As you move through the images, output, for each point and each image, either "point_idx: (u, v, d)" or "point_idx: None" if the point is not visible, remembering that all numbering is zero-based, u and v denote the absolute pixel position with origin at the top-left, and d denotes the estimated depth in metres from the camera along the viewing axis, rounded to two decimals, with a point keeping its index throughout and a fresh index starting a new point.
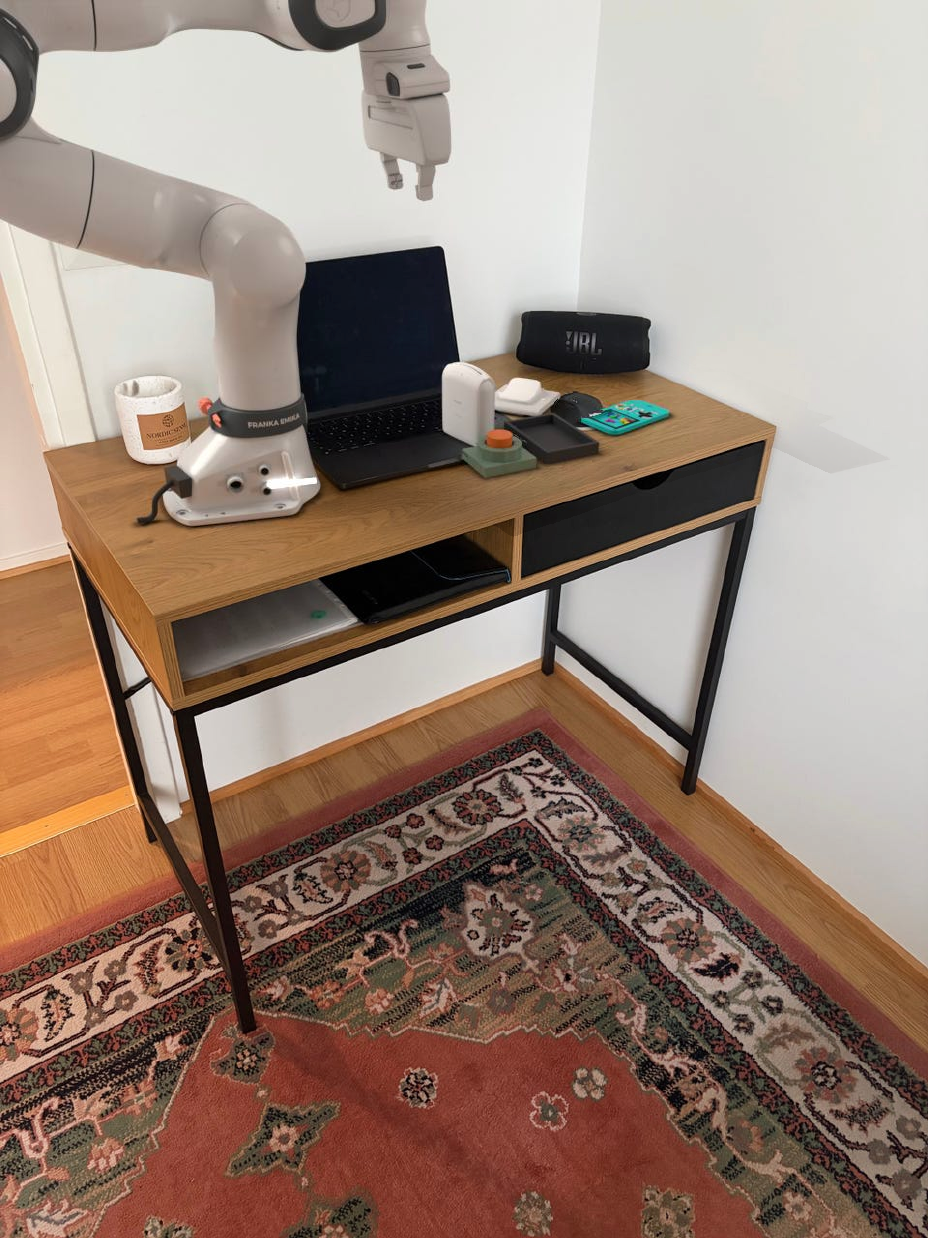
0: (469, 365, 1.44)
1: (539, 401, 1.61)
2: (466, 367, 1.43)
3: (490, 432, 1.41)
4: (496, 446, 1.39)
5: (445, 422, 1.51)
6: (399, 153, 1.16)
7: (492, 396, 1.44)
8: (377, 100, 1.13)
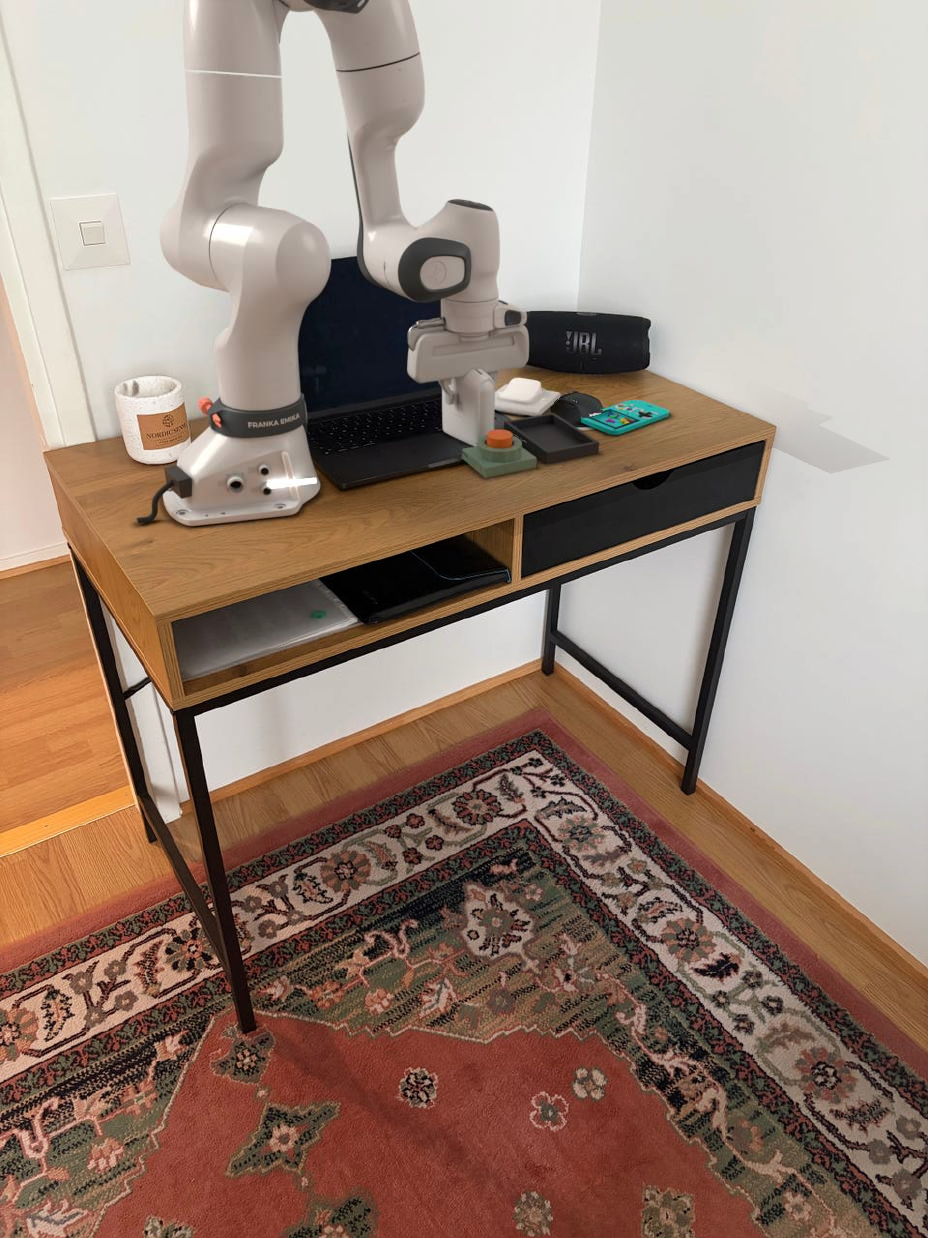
0: None
1: (539, 401, 1.61)
2: None
3: (490, 432, 1.41)
4: (496, 446, 1.39)
5: (445, 422, 1.51)
6: (486, 369, 1.44)
7: (492, 396, 1.44)
8: (478, 335, 1.39)
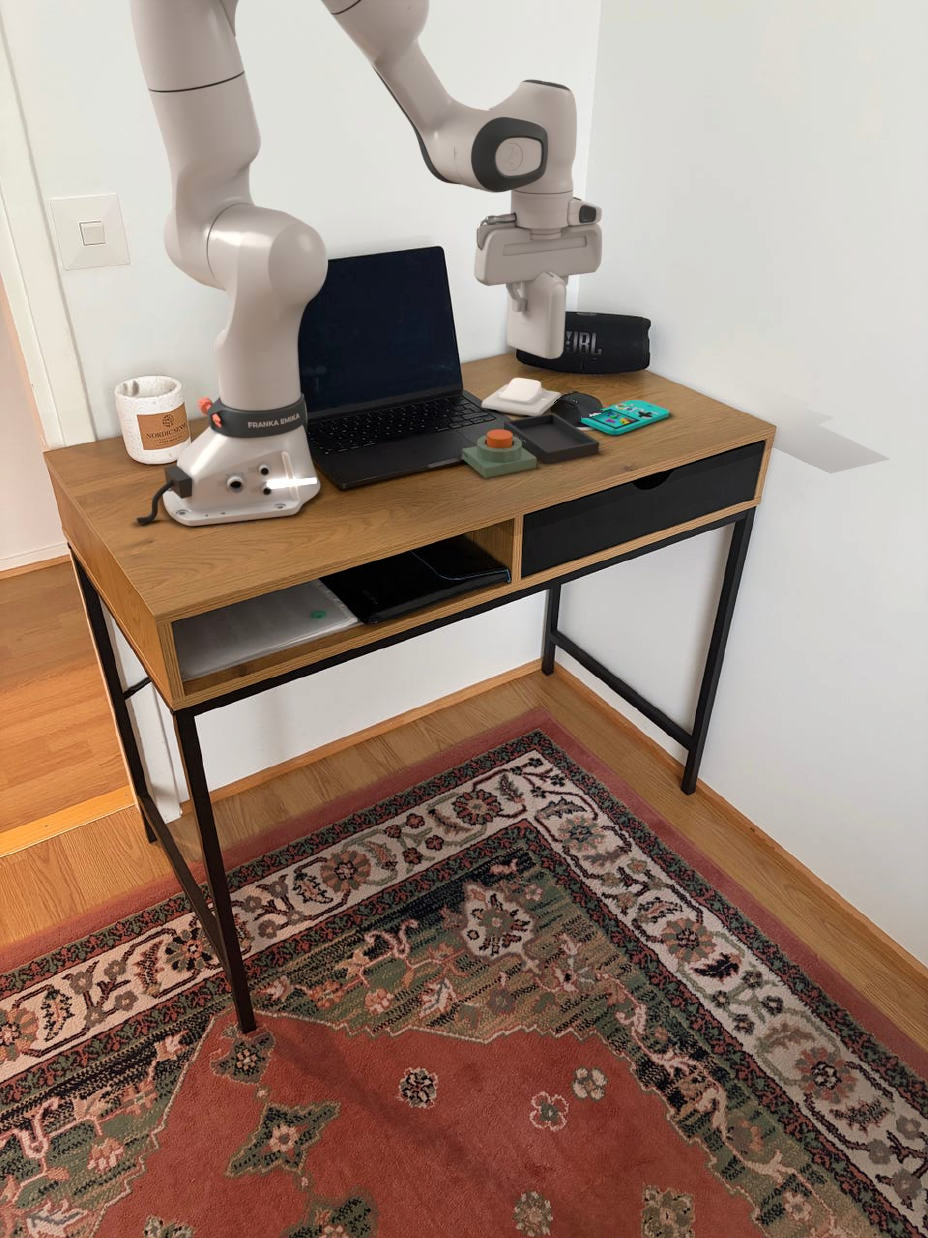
0: None
1: (540, 401, 1.61)
2: None
3: (490, 432, 1.41)
4: (496, 446, 1.39)
5: (510, 334, 1.42)
6: (557, 272, 1.34)
7: (563, 301, 1.35)
8: (551, 233, 1.29)
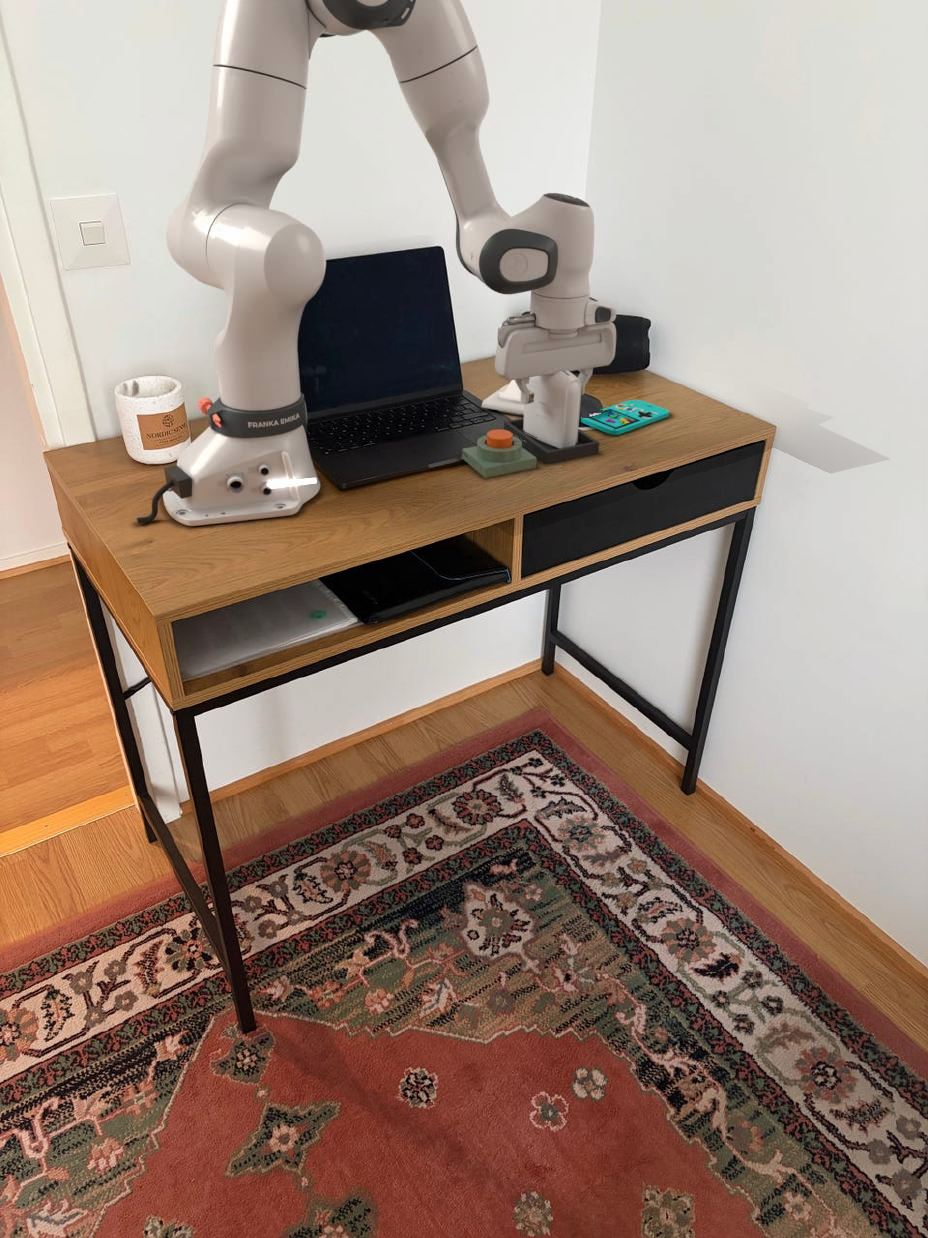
0: None
1: None
2: None
3: (490, 432, 1.41)
4: (496, 446, 1.39)
5: (527, 423, 1.49)
6: (573, 366, 1.42)
7: (578, 397, 1.42)
8: (568, 332, 1.37)
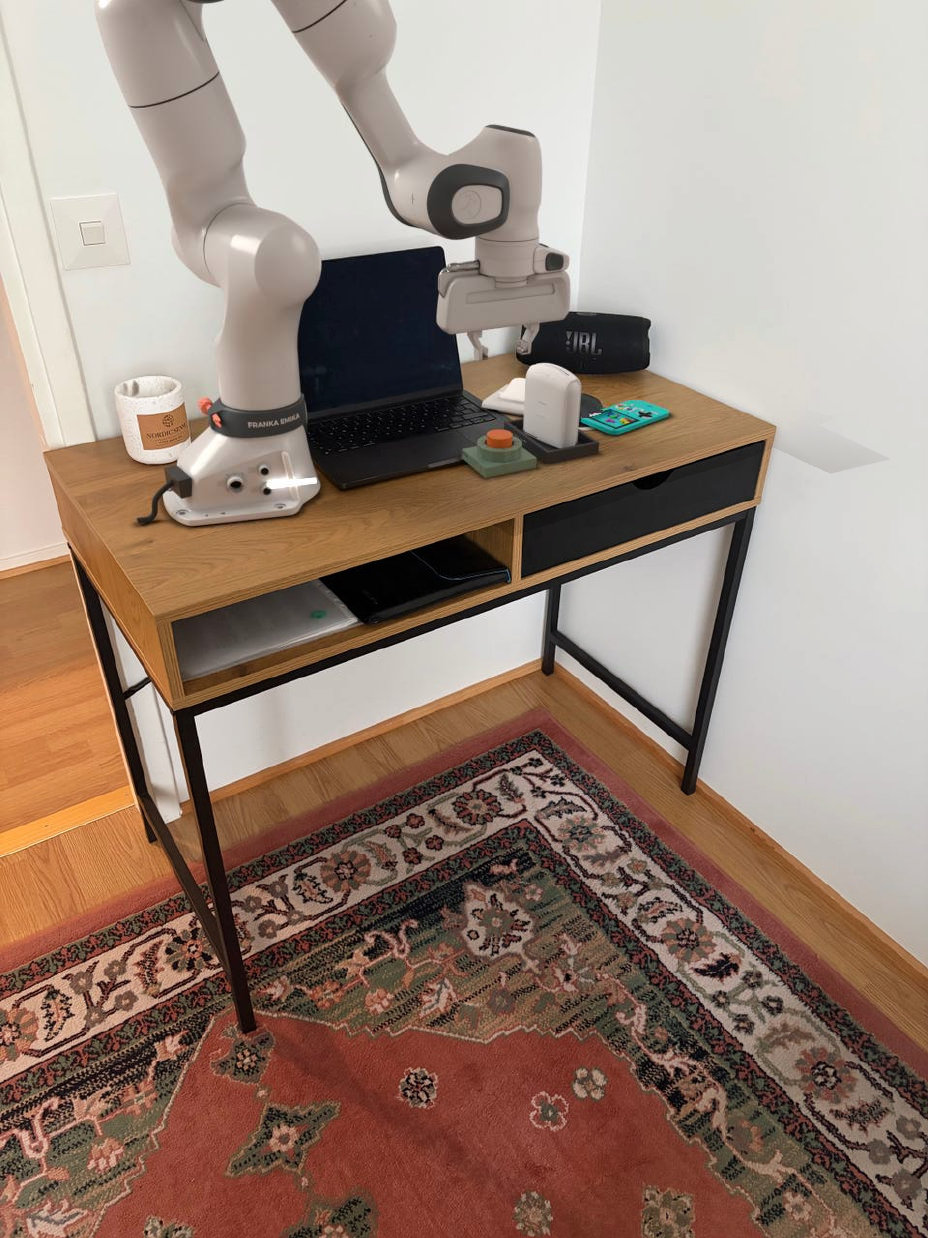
0: (555, 366, 1.43)
1: None
2: (552, 368, 1.42)
3: (490, 432, 1.41)
4: (496, 446, 1.39)
5: (527, 423, 1.49)
6: (523, 320, 1.30)
7: (578, 397, 1.42)
8: (516, 281, 1.25)
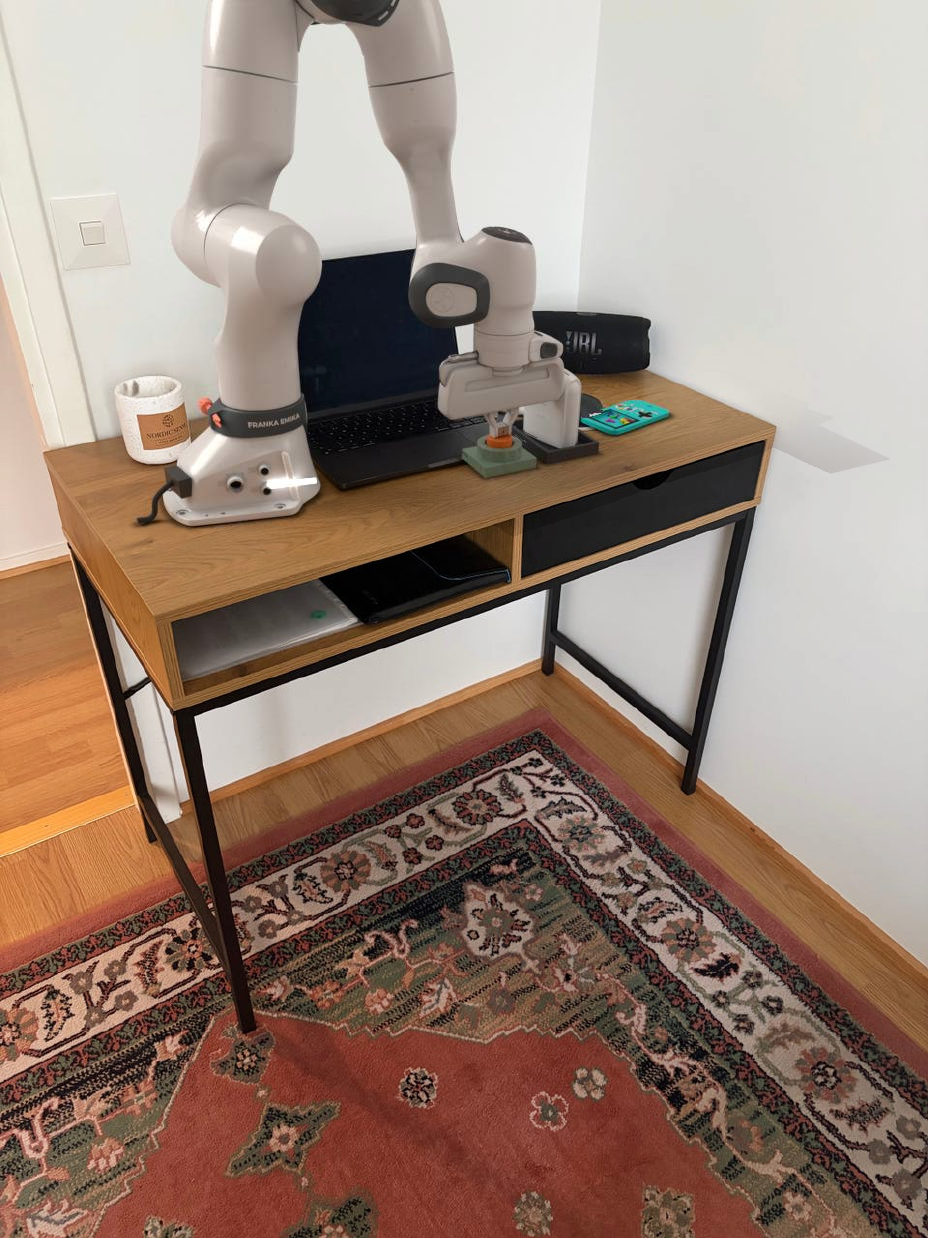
0: None
1: None
2: None
3: None
4: None
5: (527, 423, 1.49)
6: (520, 403, 1.37)
7: (578, 397, 1.42)
8: (513, 369, 1.32)
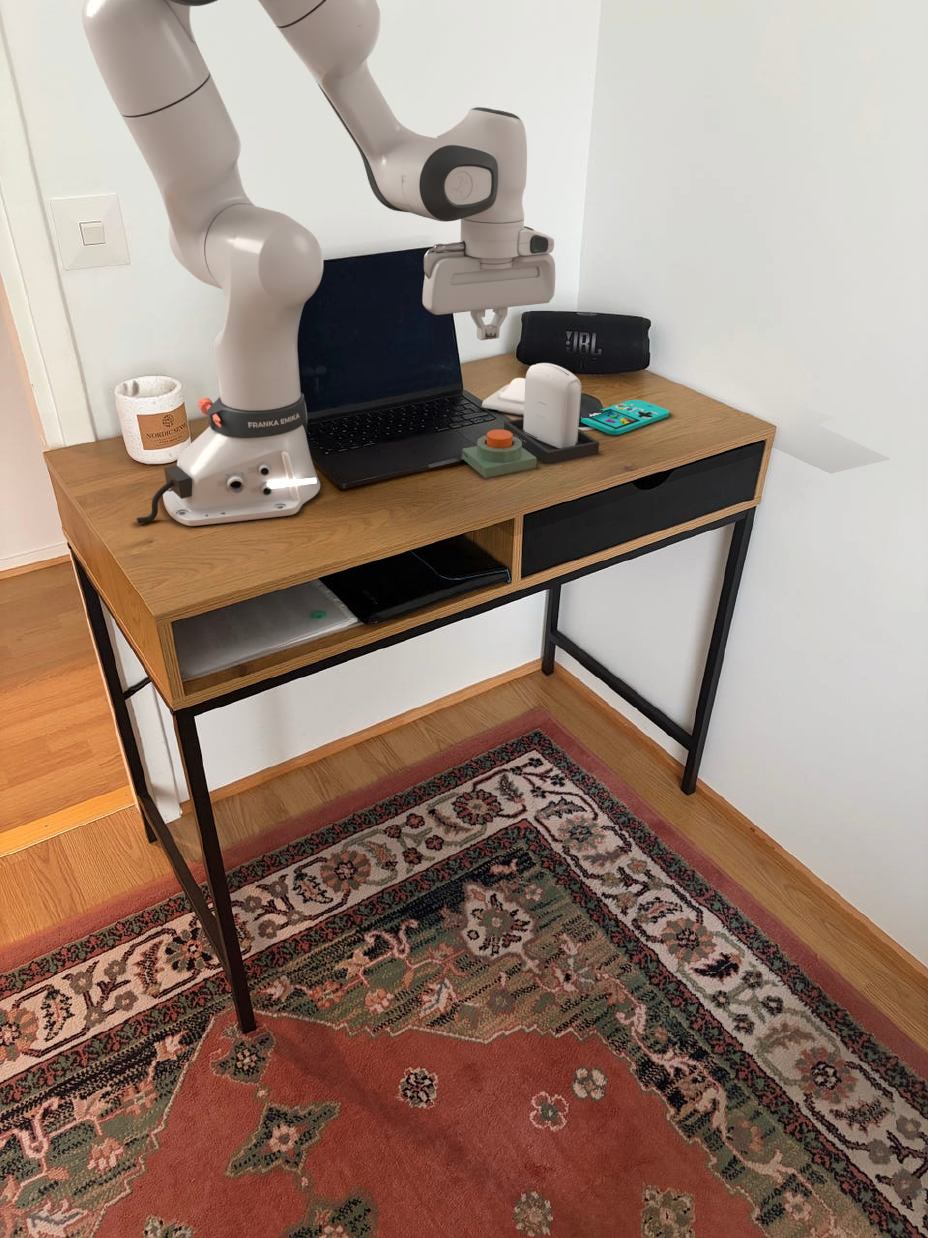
0: (555, 366, 1.43)
1: None
2: (552, 368, 1.42)
3: (490, 432, 1.41)
4: (496, 446, 1.39)
5: (527, 423, 1.49)
6: (508, 302, 1.32)
7: (578, 397, 1.42)
8: (501, 262, 1.26)
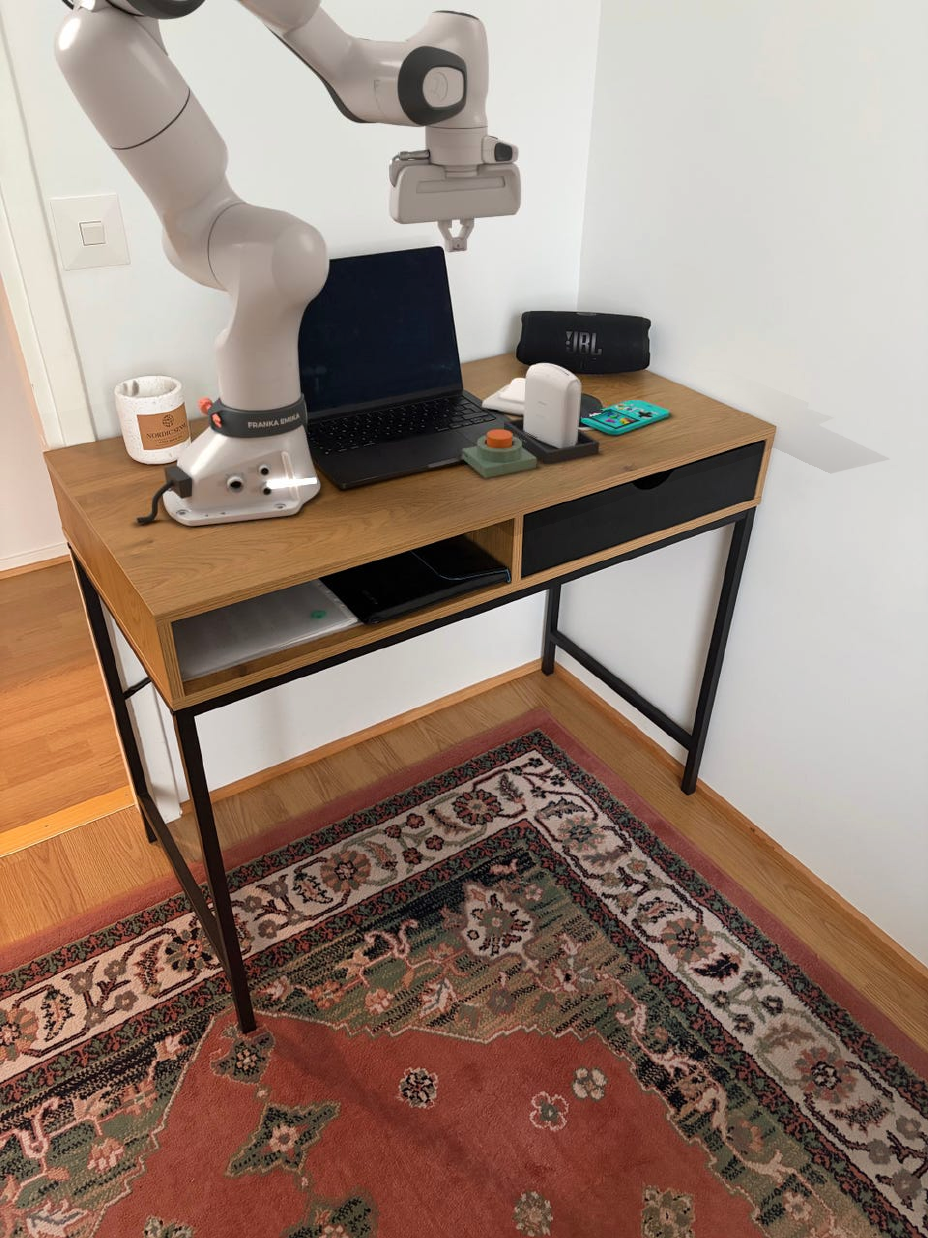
0: (555, 366, 1.43)
1: None
2: (552, 368, 1.42)
3: (490, 432, 1.41)
4: (496, 446, 1.39)
5: (527, 423, 1.49)
6: (475, 212, 1.33)
7: (578, 397, 1.42)
8: (465, 170, 1.28)
